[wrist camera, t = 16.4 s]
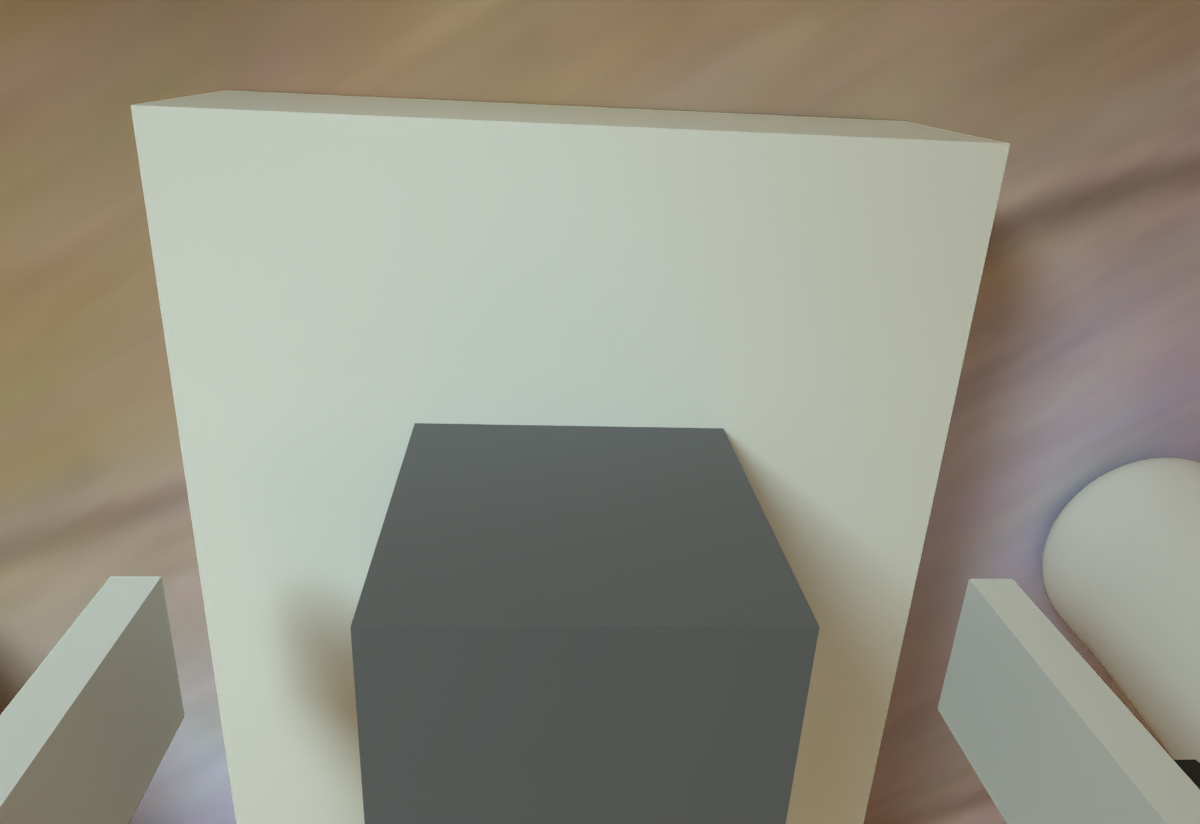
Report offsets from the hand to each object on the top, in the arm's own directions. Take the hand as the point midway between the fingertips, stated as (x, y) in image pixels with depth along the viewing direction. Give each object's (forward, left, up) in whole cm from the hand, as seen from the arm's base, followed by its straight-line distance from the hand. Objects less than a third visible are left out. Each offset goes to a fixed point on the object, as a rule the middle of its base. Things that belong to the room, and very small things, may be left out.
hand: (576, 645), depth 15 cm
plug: (0, 0, -7) cm, 7 cm away
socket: (+3, 0, -7) cm, 8 cm away
